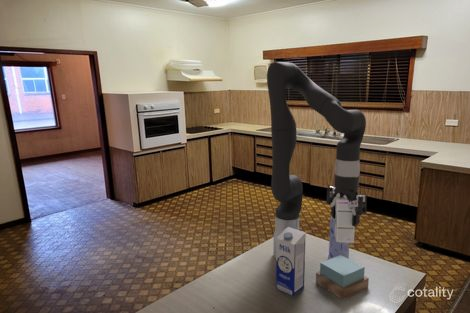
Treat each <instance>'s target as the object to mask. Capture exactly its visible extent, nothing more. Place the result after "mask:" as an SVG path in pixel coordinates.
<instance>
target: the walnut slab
mask: <svg viewBox="0 0 470 313" xmlns="http://www.w3.org/2000/svg"><path fill="white" fill-rule="evenodd" d="M369 279H370V278H369V277H367V276H365V275H364V278H363V279H361V280H359V281H357V282H354V283H352V284H350V285H348V286H346V287H342V286H340V285H338V284H337V283H335V282H333V281H332V280H330V279H328V278H327V277H325V276H323V275H322V274H320V270H319V271H317V272H316V273H315V283H317V284H319V286H321V287H323V288H324V289H326V290H328V291H329V292H330V293H332V294H333V295H336V296H337V297H338V298H340V299H342V300H346V299H348V298H350V297H352V296H355V295H356V294H359V293H360V292H363V291H365V290H367V289H368V288H369V282H370V281H369Z"/></svg>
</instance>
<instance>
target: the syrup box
mask: <svg viewBox="0 0 470 313" xmlns="http://www.w3.org/2000/svg"><path fill="white" fill-rule="evenodd" d="M350 202H351V201H350ZM355 203H356V201H355V200H354V201H352V202H351V204H352V205H355ZM352 215H353V213H352V211H351V209H349V207H348V201H347V200H345V199H344V198H342V197H340V198H338V197H337V198H336V208H335V239H336V242H342V243H349V244H354V242H355V227H356V226H352Z"/></svg>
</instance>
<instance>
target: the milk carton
mask: <svg viewBox="0 0 470 313" xmlns="http://www.w3.org/2000/svg"><path fill="white" fill-rule="evenodd" d="M306 233H307V232H306V231H302V230H300V229H299V230H297V229H294V228H290V227H287V228H286V229H285V230H284V231H283V232H282V233H281V234H280V235H279V236H278V237H277V248H276V258H275V260H276V261H275V262H276V263H275V265H276V266H275V268H276V270H275V273H276V274H275V289H276V290H278V291H281V292H283V293H284V294H286V295H289V296H291V297H294V296H296V295H297V294H298V293H299V292H301V290H303V289H304V288H305V270H306V268H305V266H306V262H305V261H306V238H307V237H306Z"/></svg>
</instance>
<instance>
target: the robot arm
mask: <svg viewBox="0 0 470 313" xmlns="http://www.w3.org/2000/svg"><path fill="white" fill-rule="evenodd" d="M266 82H267V83H266V84H267V85H266V86H267V91H268V97H269V107H270V122H271V123H270V125H271V126H270V127H271V130H270V131H271V132H270V135H271V147H272V149H271V151H272V153H271V155H272V156H271V157H272V165H271V166H272V168H271V193H272V195H273V198H274V199H275V200H276V201H277V202H279V204H278V205H277V207H276V208H275V211H274V214H275V215H274V218H275V219H274V220H275V221H274V224H275V225H274V230H275V231H274V232H273V255H274V258H275V259H276V248H277V237H278V236H279V235H280V234H281V233H282V232H283V231H284V230H285V229H286V228H287V227H290V228H294V229H297V230H300V212H301V210H302V208H303V207H302V206H303V196H304V192H303V190H304V189H303V188H304V187H303V183H302V180H301V179H300V178H299V176H297V175H295V174H290V166H291V162H292V157H293V155H294V151H295V148H296V145H297V139H298V138H297V137H298V136H297V135H298V134H297V122H296V120H295V117H294V115H293V114H292V111H291V110H290V107H289V105H288V101H287V97H286V96H287V95H286V89H292V90H294V91H296V92H298V93H299V94H300V95H302V96H303V97H304V98H303V99H304V100H305V102H306V103H307V105H308V106H309V107H310V108H311V109H313V111H315V112H317V113H318V114H319V115H320V116H321V117H323V118H324V119H325V121H326V122H327V123H328V124H329V125H330V126H331V127H332V129H333V130H335V131H337V132H338V133H341V134H343V137H342V139H341V140H339V141H338V142H337V145H336V151H335V152H336V154H335V156H336V157H335V164H334V177H333V178H334V180H333V182H334V183H333V185H332V186H328V187H327V188H326V204H327V205H330V217H331V216H332V218H335V208H336V198H337V197H338V198H340V197H342V198H344V199H345V200H347V201H348V207H349V209H351V211H352V213H353V215H352V226H355V227H357V226H358V225H359V224H360V221H361V220H360V217H361V216H362V215H365V214H367V203H368V202H367V200H368V198H367V195H366V194H364V195H362V194H359V192H358V189H359V188H360V173H361V172H360V170H361V162H360V157H361V156H360V155H361V145H362V142H363V138H364V135H365V132H366V127H367V121H366V116H365V114H364V113H363V112H362V111H361V110H359V109H349V110H347V109H345V108H343V107H342V103H341V101H340V100H339V99H338V98H336V97H335V96H334V95H332V94H331V93H329V92H328V91H326V90H325V89H323V88H322V87H321V86H319V85H318V84H316V83H315V82H314V81H313V80H312V79H311V78H310V77H309V76H307V75H306V74H305V73H304V72H303V71H302V69H301V68H300V67H298V65H297V64H295V63H293V62H289V61H288V62H287V61H273V62H271V64H269V66H268V68H267V71H266ZM354 200H355V201H356V203H355V205H352V204H351V202H352V201H354ZM350 201H351V202H350Z"/></svg>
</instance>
